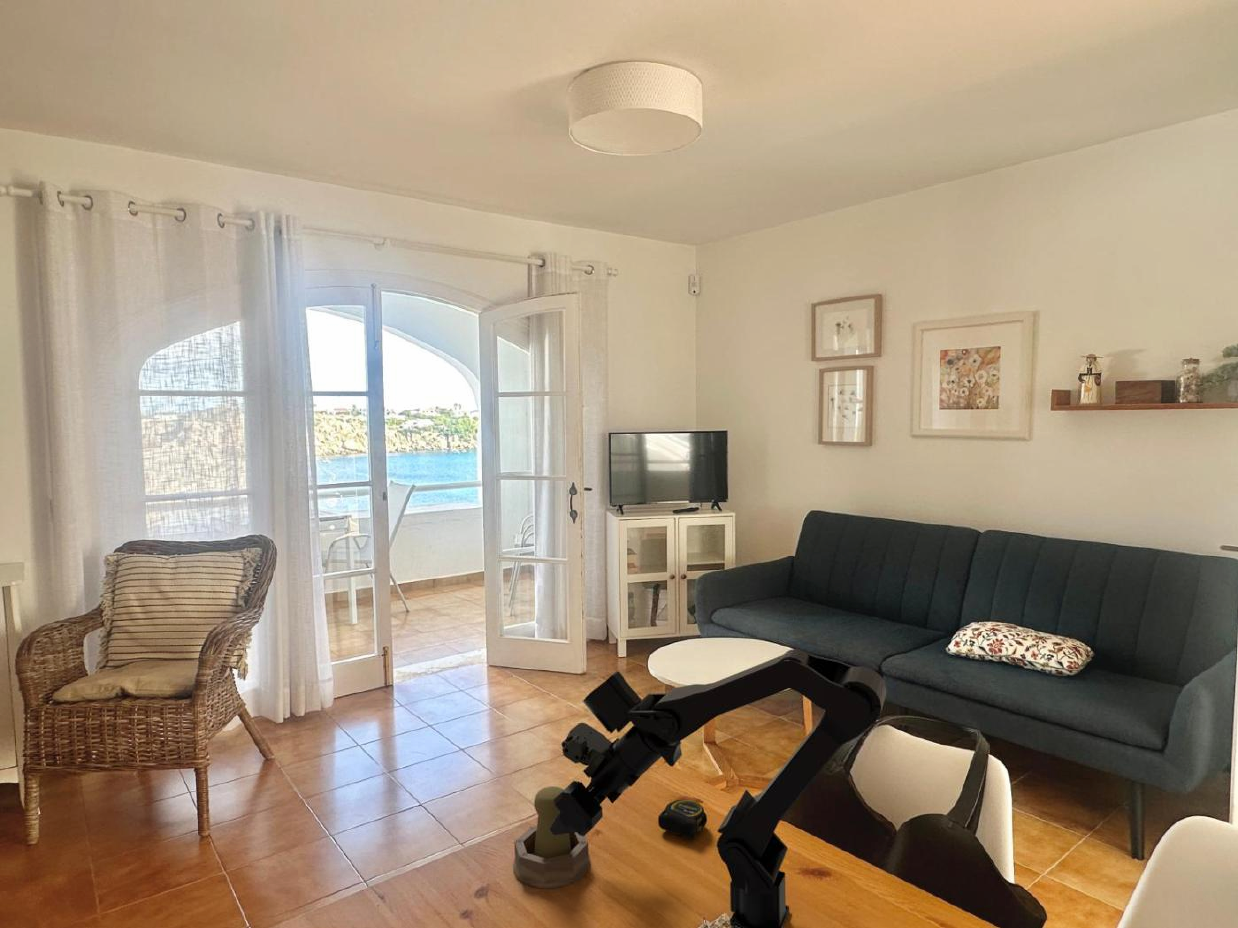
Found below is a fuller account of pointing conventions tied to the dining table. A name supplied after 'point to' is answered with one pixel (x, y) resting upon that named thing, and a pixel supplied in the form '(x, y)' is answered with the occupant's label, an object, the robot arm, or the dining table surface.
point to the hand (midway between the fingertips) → (567, 816)
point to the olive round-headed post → (547, 813)
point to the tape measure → (683, 818)
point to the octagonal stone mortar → (550, 862)
